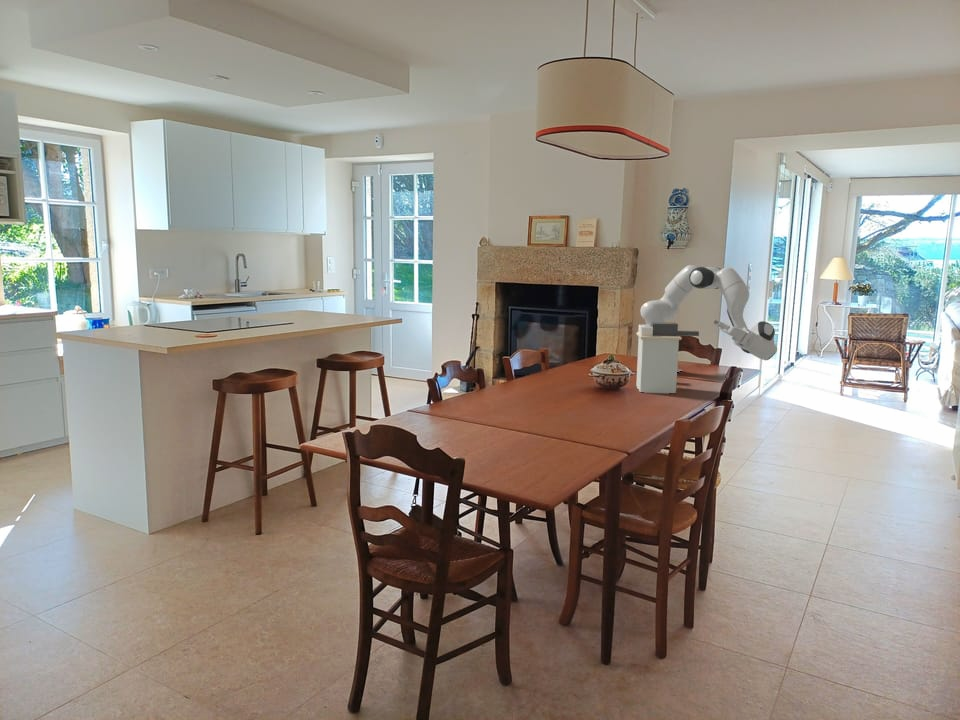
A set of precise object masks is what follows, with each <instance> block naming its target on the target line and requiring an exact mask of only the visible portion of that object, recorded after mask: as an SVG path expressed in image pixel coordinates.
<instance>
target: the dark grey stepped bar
mask: <svg viewBox="0 0 960 720" xmlns="http://www.w3.org/2000/svg"><path fill="white" fill-rule="evenodd" d="M651 327H653V336H680V337H685V336H686V337H688V336H689V337H699V336H700V331H698V330H678V329H679V324H678V323H676V322H667V321H666V322H651Z"/></svg>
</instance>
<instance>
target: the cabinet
mask: <svg viewBox="0 0 960 720" xmlns="http://www.w3.org/2000/svg"><path fill="white" fill-rule="evenodd" d="M635 334H636V335H637V337H638V342H637V343H638V346H637V363H636V364H637V365H636V382H635V383H636V384H635V385H636V388H637V390H638V389H639V390H638V391H639V393H640V392H644V393H646V394H669V393H676V394H677V383H678V382H677V381H678V380H677V379H678V373H677V366H678V367H679V361H678V360H679V345H680V343H679V342H680V341H681V340H682V339H683V338H682V336H641V335H640V334H639V333H638V331H636V333H635ZM644 393H643V394H644Z"/></svg>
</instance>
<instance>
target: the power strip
mask: <svg viewBox="0 0 960 720" xmlns="http://www.w3.org/2000/svg"><path fill="white" fill-rule="evenodd" d="M637 332H638V333H639V334H640V335H641V336H653V327H651V326H650V325H646V324H643V323H640V324H638V330H637Z"/></svg>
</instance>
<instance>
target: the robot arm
mask: <svg viewBox="0 0 960 720" xmlns="http://www.w3.org/2000/svg"><path fill="white" fill-rule="evenodd" d="M695 288H696V289H702V290H717V289H718V290H720V292H721V293H722V295H723V296H724V297H723V298H724V299H725V302H726V313H727V315H728V319H729V320H730V323H731V324H728V323H727V322H722V321H719V320H717V319H713V321H712V323H713V324H714V325H716V326H717V327H718V329H719V330H720V331H721V332H723V333H726V334H727V335H729V336H731V337H732V338H731V339H732V340H733V344H734V345H735V346H738V348H740V349H741V350H742V352H744V353H747V354H751V355H752V356H754V357H756V358H758V359H759V360H763V361H769V360H770V359H771V358H773V357H774V356H775V355H776V353H778V352H777V351H778V347H777V346H776V343H775V334H776V331H775V328H774V326H773V325H772V324H771V323H769V322H767V321H762V320H761V321H759V322H758V323H756V324H755V325H753V326H752V327H751V328H750V329H748V326H747V323H746V321H745V319H744V309H745V307H746V305H747V303H748V301H749V299H750V290H749V288H748V285H747V284H746V283H745V281H744V280H743V278H742V277H741V276H740V274H739V273H738V272H737V271H736V270H735V269H734V268H733V267H729V266H728V267H724V268H720V267H714V266H698V267H697V266H696V265H693V264H689V265H686V266H684V268H682V269H681V270H680V271H679V272H678V273H677V274H676V275H675V276H674V277H673V278H672V279H671V280H670V282H669V283H668V284H667V285H666V287H665V288H664V294H663V296H662V297H661V298H659V299H655V300H649V301H646V302H645V303H643V304H642V306H641V307H640V310H639V311H640V316H641V317H642V319H643V320H644V321H645V325H650V326H651V322H665V321H668V320H671V319H674V318H675V317H676V316H677V315H678V313H679V308H680V306H681V304H682V302H683V301H684V300H685V299H686V297H687V296H688V295H689V294H690V293H691V292H693V290H694V289H695ZM678 367H679V365H678V366H677V372H679V371H682V372H683V369H682V368H678ZM679 373H680V372H679Z"/></svg>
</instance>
